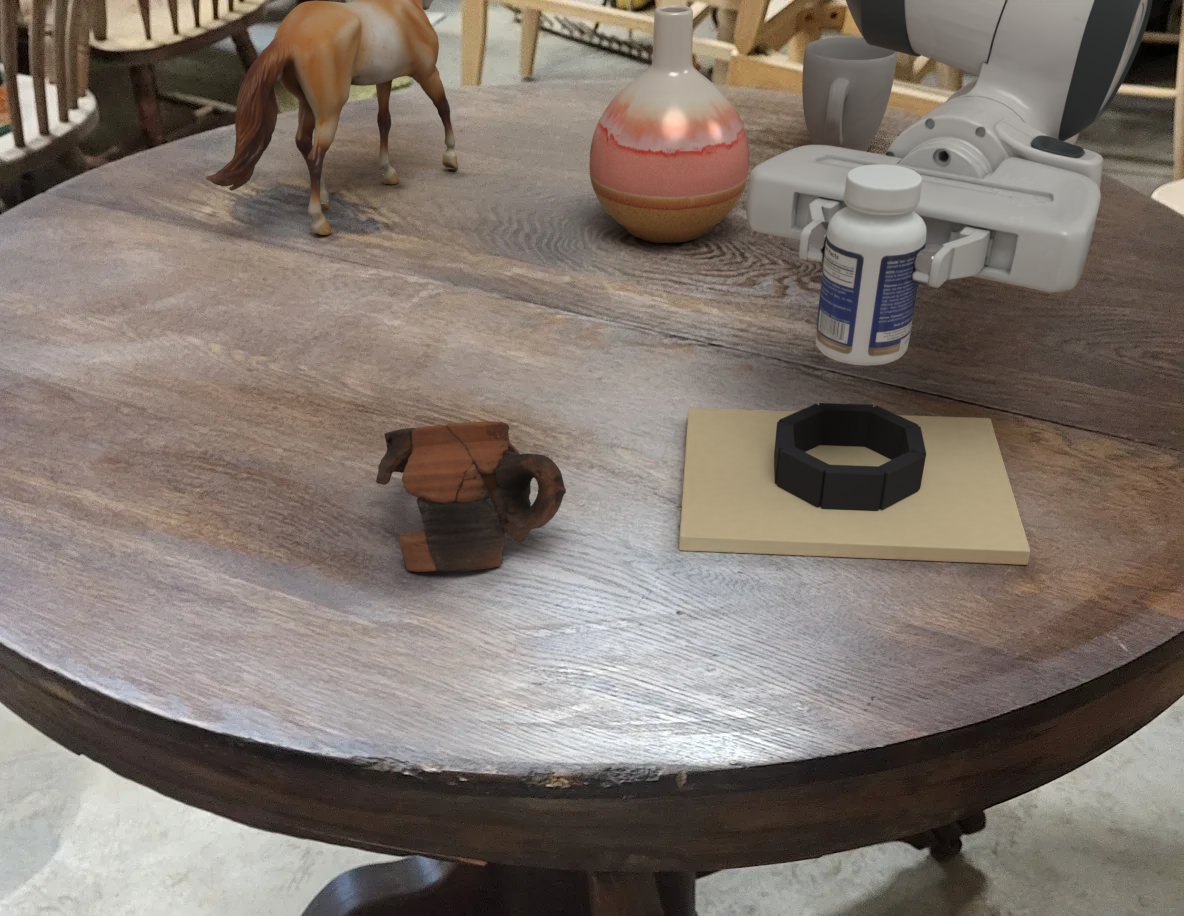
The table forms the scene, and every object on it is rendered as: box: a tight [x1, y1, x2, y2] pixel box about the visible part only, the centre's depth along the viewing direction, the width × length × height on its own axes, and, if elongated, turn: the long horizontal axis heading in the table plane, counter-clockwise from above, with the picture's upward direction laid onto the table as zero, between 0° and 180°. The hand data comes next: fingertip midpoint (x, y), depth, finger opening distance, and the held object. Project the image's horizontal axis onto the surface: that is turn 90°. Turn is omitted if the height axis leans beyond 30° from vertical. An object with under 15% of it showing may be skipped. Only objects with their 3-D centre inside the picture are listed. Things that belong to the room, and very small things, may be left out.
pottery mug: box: [375, 420, 567, 573], centre depth 76 cm, size 12×10×8 cm
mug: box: [801, 36, 898, 152], centre depth 126 cm, size 12×9×10 cm
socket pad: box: [678, 402, 1031, 566], centre depth 80 cm, size 20×16×4 cm
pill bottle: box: [815, 164, 927, 366], centre depth 72 cm, size 5×5×10 cm
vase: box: [588, 4, 750, 244], centre depth 109 cm, size 14×14×18 cm
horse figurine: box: [204, 0, 459, 236], centre depth 114 cm, size 31×8×21 cm, turn 147°
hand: (868, 260), depth 71 cm, fingers closed on pill bottle, 5 cm apart
